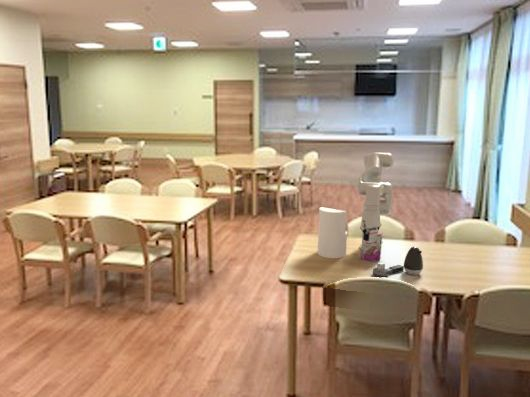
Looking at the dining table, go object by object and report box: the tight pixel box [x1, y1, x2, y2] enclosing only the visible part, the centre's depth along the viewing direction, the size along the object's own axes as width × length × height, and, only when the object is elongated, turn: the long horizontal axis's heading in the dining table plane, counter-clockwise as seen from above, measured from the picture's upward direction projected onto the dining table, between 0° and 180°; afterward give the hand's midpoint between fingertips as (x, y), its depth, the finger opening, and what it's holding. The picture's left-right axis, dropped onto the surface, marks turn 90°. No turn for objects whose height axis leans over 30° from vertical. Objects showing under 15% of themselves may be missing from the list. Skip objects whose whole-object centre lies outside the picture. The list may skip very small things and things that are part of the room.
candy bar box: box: [360, 232, 383, 262], centre depth 295 cm, size 11×5×16 cm, turn 71°
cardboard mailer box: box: [361, 228, 379, 243], centre depth 274 cm, size 6×6×7 cm
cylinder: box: [317, 206, 348, 259], centre depth 303 cm, size 17×17×28 cm
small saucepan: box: [372, 261, 405, 278], centre depth 274 cm, size 20×8×7 cm, turn 123°
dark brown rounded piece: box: [403, 246, 424, 276], centre depth 274 cm, size 10×10×15 cm
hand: (369, 239), depth 274 cm, fingers closed on cardboard mailer box, 5 cm apart
